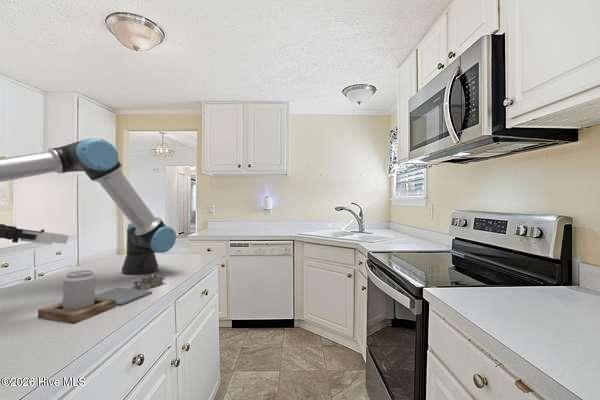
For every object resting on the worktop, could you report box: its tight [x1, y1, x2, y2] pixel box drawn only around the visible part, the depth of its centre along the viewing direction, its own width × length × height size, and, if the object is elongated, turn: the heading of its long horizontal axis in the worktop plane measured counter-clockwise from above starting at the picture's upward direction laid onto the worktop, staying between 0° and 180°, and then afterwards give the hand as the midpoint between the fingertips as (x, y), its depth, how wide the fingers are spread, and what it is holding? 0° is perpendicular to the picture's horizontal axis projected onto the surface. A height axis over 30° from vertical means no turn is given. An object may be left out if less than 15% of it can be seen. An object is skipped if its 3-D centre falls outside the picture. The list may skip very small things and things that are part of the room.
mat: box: [95, 287, 153, 307], centre depth 98 cm, size 13×15×1 cm
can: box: [62, 269, 96, 312], centre depth 85 cm, size 8×8×12 cm
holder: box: [37, 297, 117, 325], centre depth 85 cm, size 13×13×2 cm
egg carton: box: [131, 273, 166, 291], centre depth 112 cm, size 11×8×4 cm
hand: (60, 239), depth 85 cm, fingers open, 13 cm apart
